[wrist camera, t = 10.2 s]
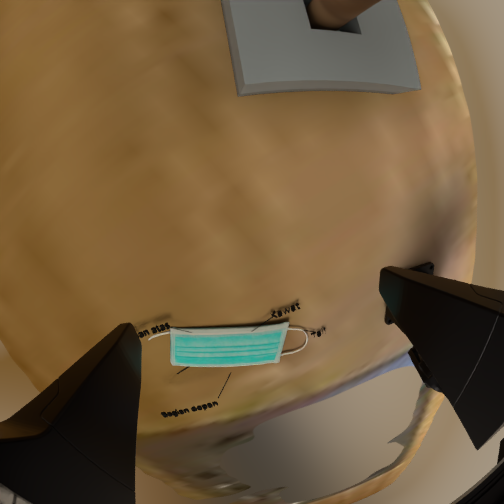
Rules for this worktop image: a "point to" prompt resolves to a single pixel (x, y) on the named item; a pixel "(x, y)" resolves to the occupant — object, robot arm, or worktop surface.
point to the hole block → (318, 49)
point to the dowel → (335, 12)
